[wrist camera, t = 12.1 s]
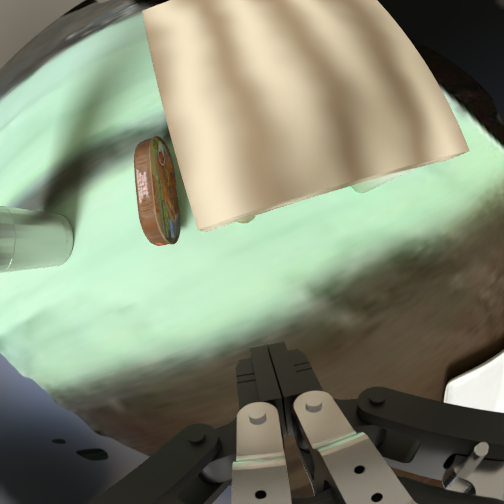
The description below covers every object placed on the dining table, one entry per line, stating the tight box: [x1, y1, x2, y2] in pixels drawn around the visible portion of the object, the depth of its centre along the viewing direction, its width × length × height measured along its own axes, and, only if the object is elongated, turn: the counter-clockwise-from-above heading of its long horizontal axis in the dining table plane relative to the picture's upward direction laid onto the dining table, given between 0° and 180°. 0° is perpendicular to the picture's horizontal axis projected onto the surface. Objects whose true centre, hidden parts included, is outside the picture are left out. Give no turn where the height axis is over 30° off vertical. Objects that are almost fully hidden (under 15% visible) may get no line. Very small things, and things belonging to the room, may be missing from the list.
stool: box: [142, 0, 469, 232], centre depth 28 cm, size 24×24×21 cm
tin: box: [134, 136, 180, 246], centre depth 35 cm, size 15×3×8 cm, turn 9°
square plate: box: [444, 350, 504, 413], centre depth 37 cm, size 27×27×4 cm
